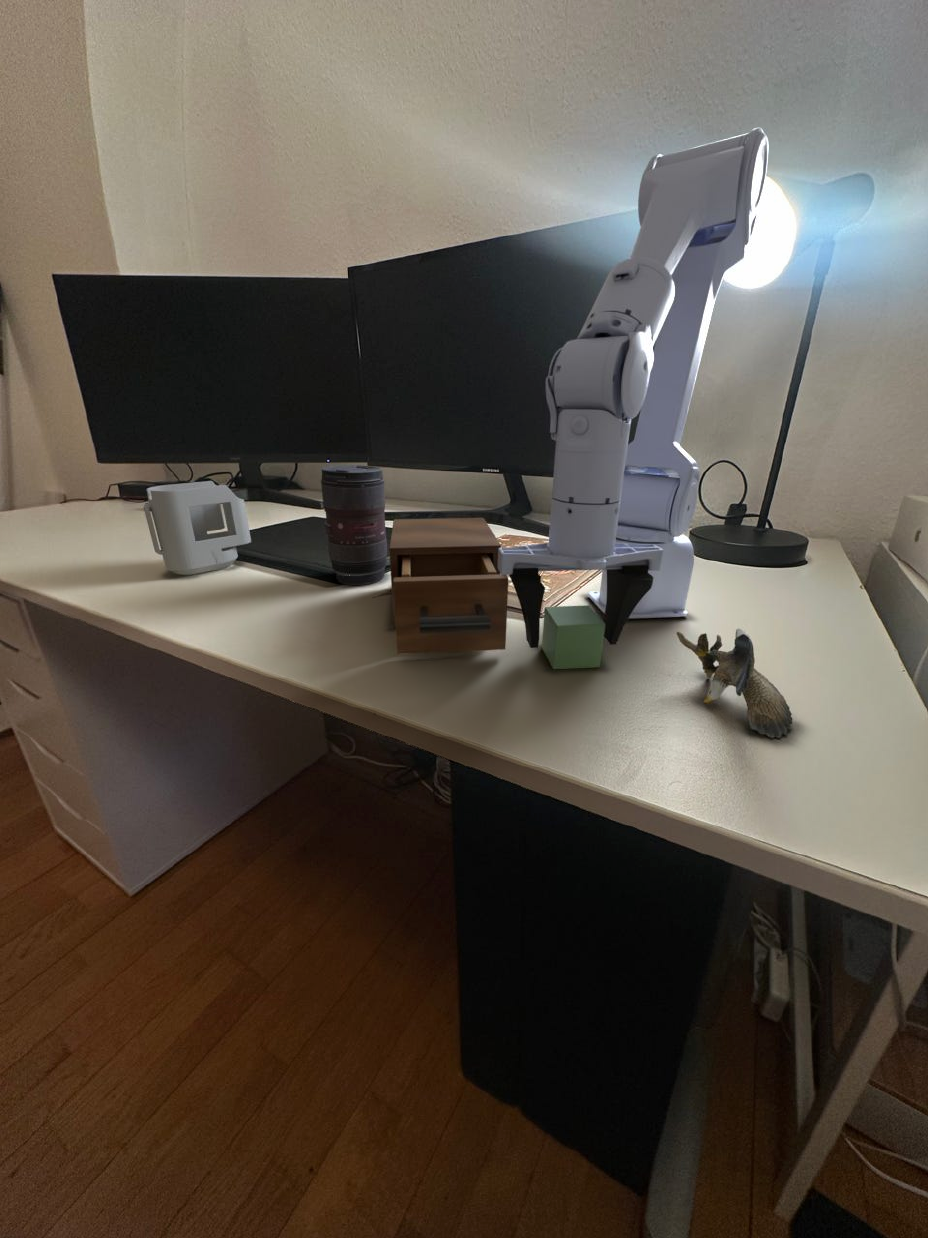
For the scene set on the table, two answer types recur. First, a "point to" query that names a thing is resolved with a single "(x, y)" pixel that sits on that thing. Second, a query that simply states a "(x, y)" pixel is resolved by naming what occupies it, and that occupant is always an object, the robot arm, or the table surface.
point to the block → (572, 637)
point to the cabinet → (439, 540)
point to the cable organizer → (196, 526)
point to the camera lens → (355, 522)
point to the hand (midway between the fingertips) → (571, 641)
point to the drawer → (450, 604)
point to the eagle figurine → (743, 682)
